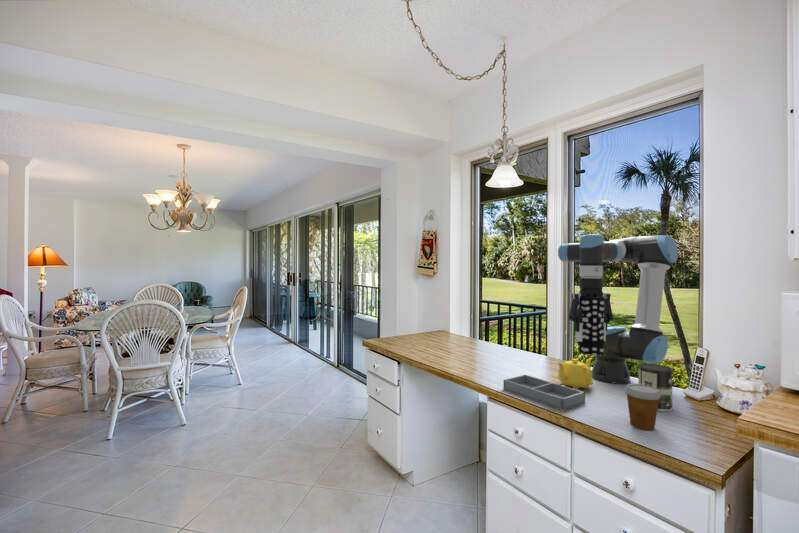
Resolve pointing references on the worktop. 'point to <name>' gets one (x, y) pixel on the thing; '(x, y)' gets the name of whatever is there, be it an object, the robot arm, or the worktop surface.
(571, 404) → the gray divided tray
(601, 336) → the white-spotted black cylinder
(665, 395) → the coffee can
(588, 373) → the teapot
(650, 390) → the disposable coffee cup
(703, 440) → the worktop surface
